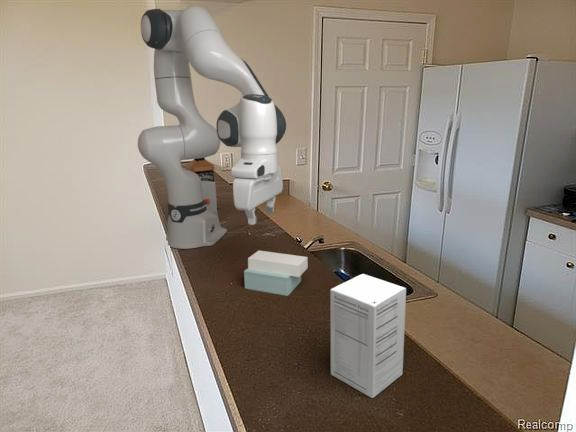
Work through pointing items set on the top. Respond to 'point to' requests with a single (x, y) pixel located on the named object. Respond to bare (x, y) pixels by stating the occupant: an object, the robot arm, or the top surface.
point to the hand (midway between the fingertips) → (261, 218)
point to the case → (270, 282)
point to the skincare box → (210, 195)
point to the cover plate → (278, 263)
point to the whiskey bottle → (202, 169)
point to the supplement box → (367, 333)
